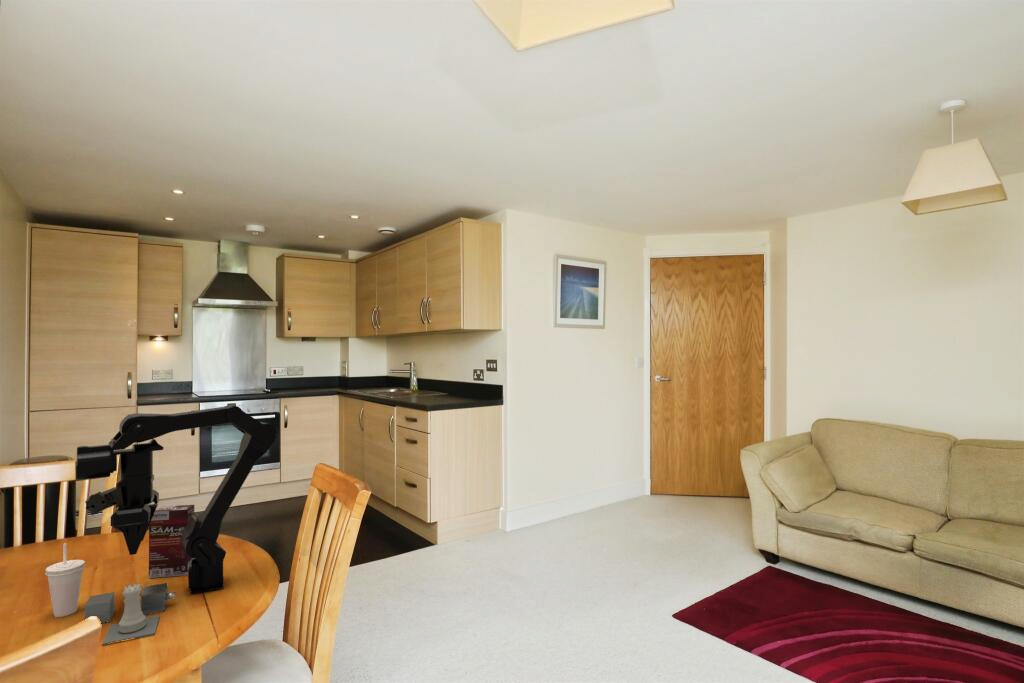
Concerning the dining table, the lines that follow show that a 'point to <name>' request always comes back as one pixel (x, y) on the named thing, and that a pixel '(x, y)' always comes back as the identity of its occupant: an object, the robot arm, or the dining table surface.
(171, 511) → the supplement box
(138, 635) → the mat
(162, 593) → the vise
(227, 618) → the dining table surface
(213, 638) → the dining table surface
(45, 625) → the dining table surface
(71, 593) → the smoothie
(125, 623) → the rook chess piece
